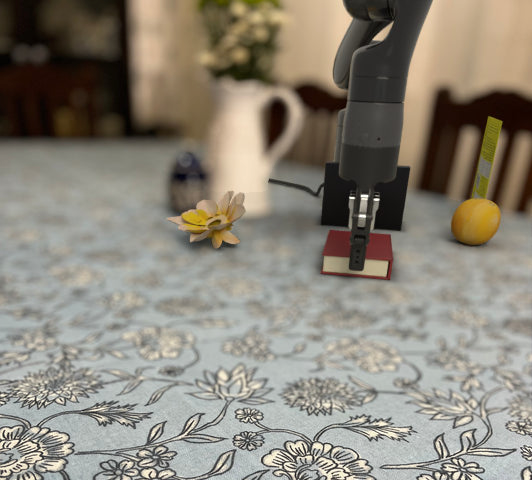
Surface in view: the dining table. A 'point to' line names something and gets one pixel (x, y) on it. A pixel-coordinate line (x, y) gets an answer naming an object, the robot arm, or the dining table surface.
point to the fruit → (475, 221)
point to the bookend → (339, 190)
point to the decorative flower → (212, 219)
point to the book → (375, 259)
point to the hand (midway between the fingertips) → (356, 269)
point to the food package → (486, 158)
